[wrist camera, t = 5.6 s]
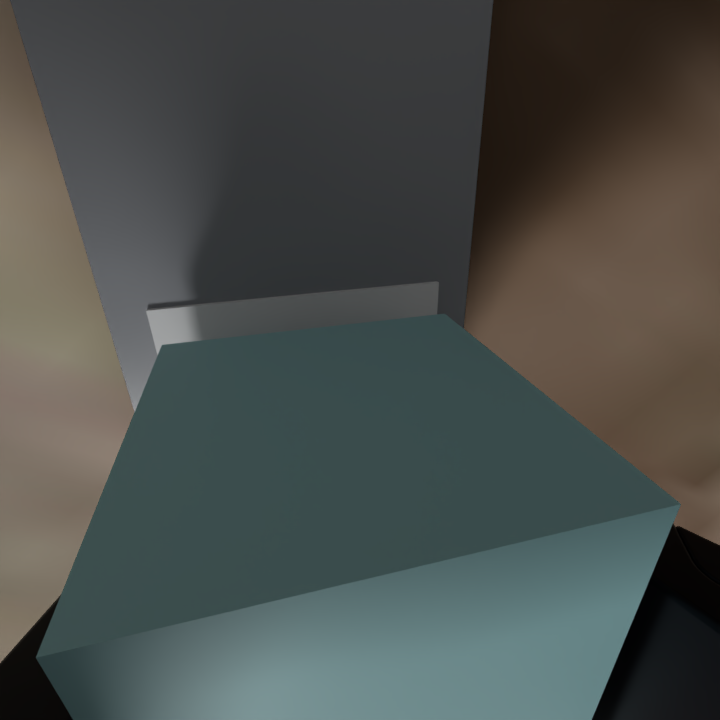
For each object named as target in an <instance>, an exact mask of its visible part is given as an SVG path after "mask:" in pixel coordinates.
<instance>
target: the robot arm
mask: <svg viewBox="0 0 720 720" xmlns="http://www.w3.org/2000/svg"><path fill="white" fill-rule="evenodd" d="M60 596H61V595H60ZM60 596H59V598H58V599H57V600H56V601H55V602H54V603H53V604H52V605H51V607H50V608H49V609H48V610H47V611H46V612H45V613H44V614H43V616H42V617H41V618H40V619H39V620H38V621H37V622H36V623H35V625H34V626H33V627H32V628H31V629H30V630H29V631H28V632H27V634H26V635H25V636H24V637H23V638H22V639H21V640H20V641H19V643H18V644H17V645H16V646H15V647H14V648H13V649H12V651H11V652H10V653H9V654H8V655H7V656H6V657H5V658H4V660H3V661H2V662H1V663H0V720H73V719H72V717H71V715H70V714H69V712H68V710H67V709H66V707H65V705H64V704H63V702H62V700H61V699H60V697H59V695H58V694H57V692H56V690H55V689H54V687H53V685H52V684H51V682H50V680H49V679H48V677H47V675H46V674H45V672H44V670H43V669H42V667H41V665H40V664H39V662H38V661H37V659H36V656H37V654H38V651H39V649H40V646H41V644H42V641H43V639H44V636H45V634H46V631H47V629H48V626H49V624H50V621H51V619H52V616H53V614H54V611H55V609H56V606H57V604H58V601H59V599H60ZM592 720H720V545H718V544H716V543H713V542H711V541H709V540H707V539H705V538H703V537H701V536H699V535H697V534H695V533H692V532H690V531H688V530H686V529H684V528H682V527H680V526H677V527H675V526H674V524H672V527H671V529H670V532H669V534H668V537H667V539H666V541H665V544H664V546H663V549H662V551H661V553H660V556H659V558H658V561H657V563H656V566H655V568H654V570H653V573H652V575H651V578H650V580H649V582H648V585H647V587H646V590H645V592H644V595H643V597H642V599H641V602H640V604H639V607H638V609H637V611H636V614H635V616H634V619H633V621H632V624H631V626H630V628H629V631H628V633H627V636H626V638H625V640H624V643H623V645H622V648H621V650H620V653H619V655H618V657H617V660H616V662H615V665H614V667H613V669H612V672H611V674H610V677H609V679H608V682H607V684H606V686H605V689H604V691H603V694H602V696H601V698H600V701H599V703H598V706H597V708H596V711H595V713H594V715H593V718H592Z"/></svg>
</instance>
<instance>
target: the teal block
mask: <svg viewBox="0 0 720 720" xmlns="http://www.w3.org/2000/svg"><path fill="white" fill-rule="evenodd" d="M680 505H681V504H680V503H679V502H678V501H676V500H675V499H674V498H673V497H671V496H670V495H669V494H668V493H666V492H665V491H664V490H663V489H662V488H660V487H659V486H658V485H657V484H655V483H654V482H653V481H652V480H650V479H649V478H648V477H647V476H645V475H644V474H643V473H642V472H640V471H639V470H638V469H637V468H636V467H634V466H633V465H632V464H631V463H629V462H628V461H627V460H626V459H624V458H623V457H622V456H621V455H619V454H618V453H617V452H616V451H614V450H613V449H612V448H611V447H609V446H608V445H607V444H606V443H605V442H603V441H602V440H601V439H600V438H598V437H597V436H596V435H595V434H593V433H592V432H591V431H590V430H588V429H587V428H586V427H585V426H583V425H582V424H581V423H580V422H579V421H577V420H576V419H575V418H574V417H572V416H571V415H570V414H569V413H567V412H566V411H565V410H564V409H562V408H561V407H560V406H559V405H557V404H556V403H555V402H554V401H552V400H551V399H550V398H549V397H548V396H546V395H545V394H544V393H543V392H541V391H540V390H539V389H538V388H536V387H535V386H534V385H533V384H531V383H530V382H529V381H528V380H526V379H525V378H524V377H523V376H521V375H520V374H519V373H518V372H517V371H515V370H514V369H513V368H512V367H510V366H509V365H508V364H507V363H505V362H504V361H503V360H502V359H500V358H499V357H498V356H497V355H495V354H494V353H493V352H492V351H491V350H489V349H488V348H487V347H486V346H484V345H483V344H482V343H481V342H479V341H478V340H477V339H476V338H474V337H473V336H472V335H471V334H469V333H468V332H467V331H466V330H464V329H463V328H462V327H461V326H460V325H458V324H457V323H456V322H455V321H453V320H452V319H451V318H450V317H448V316H447V315H446V314H436V315H427V316H418V317H409V318H400V319H391V320H382V321H373V322H364V323H355V324H346V325H337V326H328V327H319V328H310V329H301V330H292V331H283V332H274V333H265V334H256V335H246V336H237V337H228V338H219V339H210V340H201V341H192V342H183V343H174V344H165V345H162V346H161V348H160V351H159V353H158V356H157V358H156V361H155V363H154V366H153V368H152V371H151V373H150V375H149V378H148V380H147V383H146V385H145V388H144V390H143V393H142V395H141V398H140V400H139V403H138V405H137V408H136V410H135V413H134V415H133V418H132V420H131V423H130V425H129V428H128V430H127V433H126V435H125V438H124V440H123V443H122V445H121V447H120V450H119V452H118V455H117V457H116V460H115V462H114V465H113V467H112V470H111V472H110V475H109V477H108V480H107V482H106V485H105V487H104V490H103V492H102V495H101V497H100V500H99V502H98V505H97V507H96V510H95V512H94V515H93V517H92V519H91V522H90V524H89V527H88V529H87V532H86V534H85V537H84V539H83V542H82V544H81V547H80V549H79V552H78V554H77V557H76V559H75V562H74V564H73V567H72V569H71V572H70V574H69V577H68V579H67V582H66V584H65V587H64V589H63V591H62V594H61V596H60V599H59V601H58V604H57V606H56V609H55V611H54V614H53V616H52V619H51V621H50V624H49V626H48V629H47V631H46V634H45V636H44V639H43V641H42V644H41V646H40V649H39V651H38V654H37V656H36V659H37V661H38V662H39V664H40V665H41V667H42V669H43V670H44V672H45V674H46V675H47V677H48V679H49V680H50V682H51V684H52V685H53V687H54V689H55V690H56V692H57V694H58V695H59V697H60V699H61V700H62V702H63V704H64V705H65V707H66V709H67V710H68V712H69V714H70V715H71V717H72V719H73V720H592V718H593V715H594V713H595V711H596V708H597V706H598V703H599V701H600V698H601V696H602V694H603V691H604V689H605V686H606V684H607V682H608V679H609V677H610V674H611V672H612V669H613V667H614V665H615V662H616V660H617V657H618V655H619V653H620V650H621V648H622V645H623V643H624V640H625V638H626V636H627V633H628V631H629V628H630V626H631V624H632V621H633V619H634V616H635V614H636V611H637V609H638V607H639V604H640V602H641V599H642V597H643V595H644V592H645V590H646V587H647V585H648V582H649V580H650V578H651V575H652V573H653V570H654V568H655V566H656V563H657V561H658V558H659V556H660V553H661V551H662V549H663V546H664V544H665V541H666V539H667V537H668V534H669V532H670V529H671V527H672V524H673V522H674V520H675V517H676V515H677V512H678V510H679V508H680Z"/></svg>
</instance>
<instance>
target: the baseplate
mask: <svg viewBox="0 0 720 720" xmlns="http://www.w3.org/2000/svg"><path fill="white" fill-rule="evenodd" d="M10 1H11V4H12V8H13V11H14V14H15V18H16V21H17V24H18V28H19V31H20V34H21V37H22V41H23V44H24V47H25V51H26V54H27V57H28V61H29V64H30V67H31V71H32V74H33V77H34V81H35V84H36V87H37V90H38V94H39V97H40V100H41V104H42V107H43V110H44V114H45V117H46V120H47V124H48V127H49V130H50V134H51V137H52V140H53V144H54V147H55V150H56V153H57V157H58V160H59V163H60V167H61V170H62V173H63V177H64V180H65V183H66V187H67V190H68V193H69V197H70V200H71V203H72V206H73V210H74V213H75V216H76V220H77V223H78V226H79V230H80V233H81V236H82V240H83V243H84V246H85V250H86V253H87V256H88V259H89V263H90V266H91V269H92V273H93V276H94V279H95V283H96V286H97V289H98V293H99V296H100V299H101V303H102V306H103V309H104V312H105V316H106V319H107V322H108V326H109V329H110V332H111V336H112V339H113V342H114V346H115V349H116V352H117V356H118V359H119V362H120V365H121V369H122V372H123V375H124V379H125V382H126V385H127V389H128V392H129V395H130V399H131V402H132V405H133V409H134V412H135V410H136V408H137V405H138V403H139V400H140V398H141V395H142V393H143V390H144V388H145V385H146V383H147V380H148V378H149V375H150V373H151V371H152V368H153V366H154V363H155V361H156V358H157V356H158V353H159V351H160V348H161V346H162V345H165V344H174V343H183V342H192V341H201V340H210V339H219V338H228V337H237V336H246V335H256V334H265V333H274V332H283V331H292V330H301V329H310V328H319V327H328V326H337V325H346V324H355V323H364V322H373V321H382V320H391V319H400V318H409V317H418V316H427V315H436V314H446V315H447V316H448V317H450V318H451V319H452V320H453V321H455V322H456V323H457V324H458V325H460V326H461V327H462V328H463V329H464V318H465V307H466V296H467V285H468V273H469V262H470V251H471V240H472V229H473V218H474V207H475V196H476V185H477V174H478V163H479V152H480V141H481V130H482V119H483V108H484V97H485V86H486V75H487V64H488V53H489V42H490V30H491V19H492V8H493V0H10Z"/></svg>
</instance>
